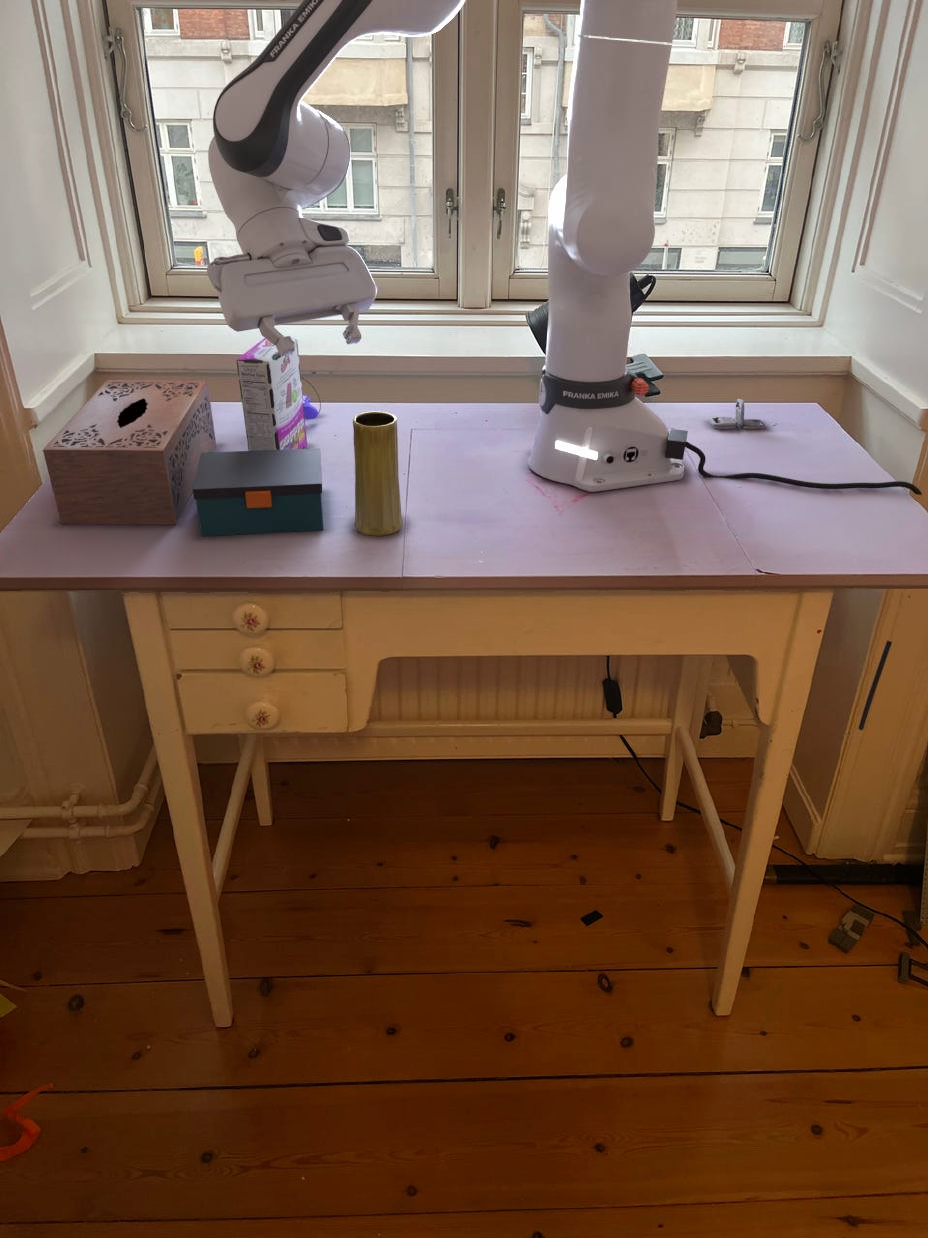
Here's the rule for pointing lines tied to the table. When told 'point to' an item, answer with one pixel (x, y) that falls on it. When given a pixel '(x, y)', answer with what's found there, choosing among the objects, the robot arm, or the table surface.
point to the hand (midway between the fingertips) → (322, 347)
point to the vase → (376, 474)
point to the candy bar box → (272, 398)
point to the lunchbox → (259, 491)
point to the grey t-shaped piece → (739, 416)
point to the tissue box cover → (131, 453)
